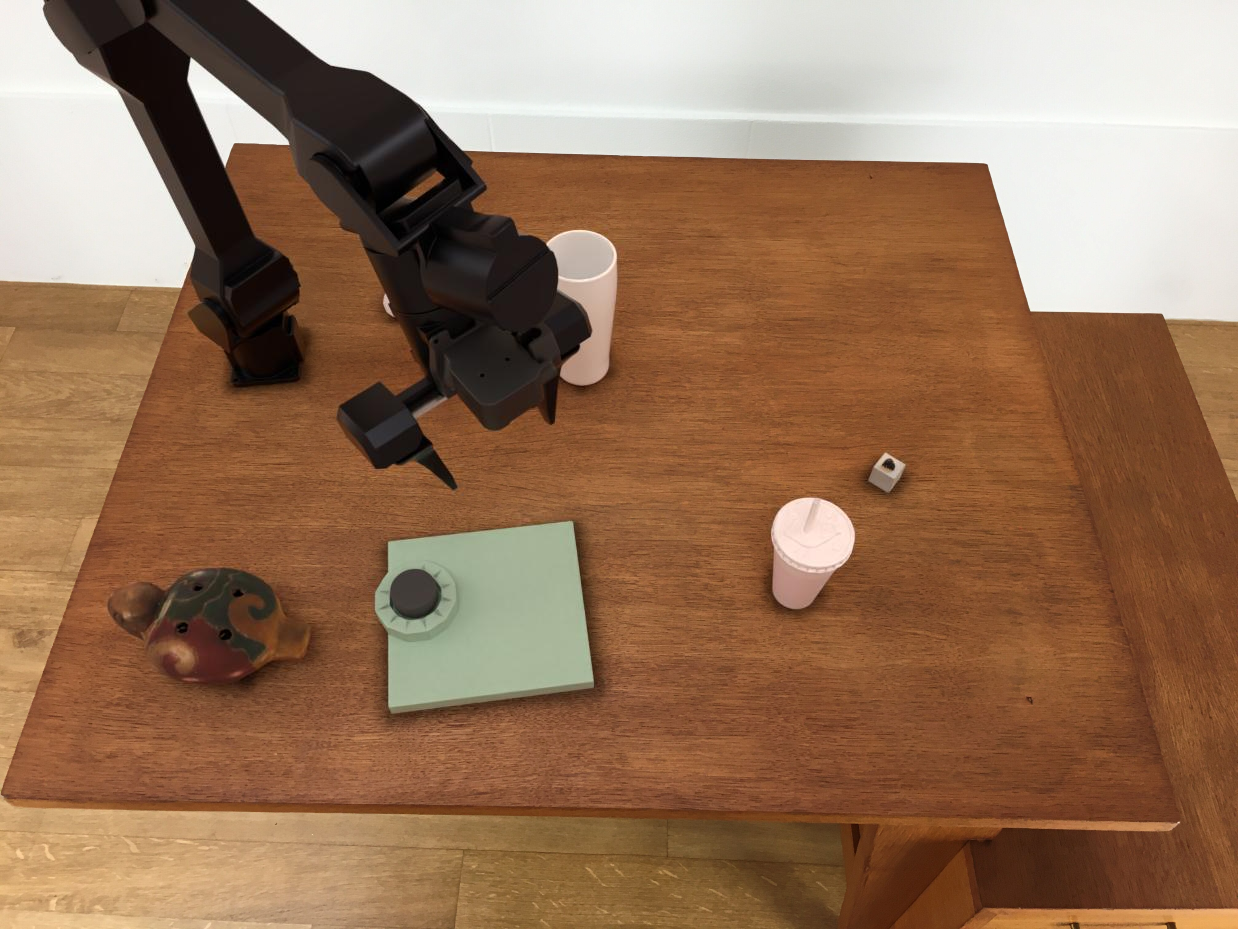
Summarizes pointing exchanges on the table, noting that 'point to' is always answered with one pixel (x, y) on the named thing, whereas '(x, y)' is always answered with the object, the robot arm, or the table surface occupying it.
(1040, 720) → the table surface
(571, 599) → the scale
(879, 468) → the cube with dark pebbles
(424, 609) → the power button
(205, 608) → the multicoloured rounded piece
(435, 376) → the robot arm
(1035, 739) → the table surface
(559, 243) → the drinking glass
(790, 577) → the smoothie
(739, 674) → the table surface
